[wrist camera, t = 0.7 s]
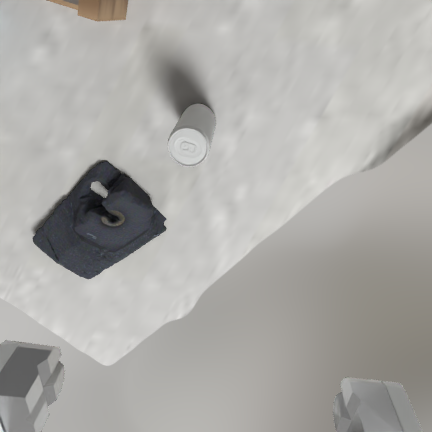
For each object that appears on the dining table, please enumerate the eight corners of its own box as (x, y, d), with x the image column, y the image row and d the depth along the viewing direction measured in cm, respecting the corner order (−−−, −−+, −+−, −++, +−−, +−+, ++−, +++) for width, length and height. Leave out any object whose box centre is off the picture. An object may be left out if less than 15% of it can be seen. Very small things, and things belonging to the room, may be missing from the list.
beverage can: (187, 97, 49) (172, 120, 39) (220, 108, 49) (214, 134, 39) (178, 130, 51) (162, 161, 41) (210, 141, 52) (202, 173, 41)
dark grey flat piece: (24, 225, 62) (8, 240, 58) (111, 152, 54) (100, 163, 50) (89, 281, 67) (79, 299, 63) (177, 222, 60) (172, 238, 56)
